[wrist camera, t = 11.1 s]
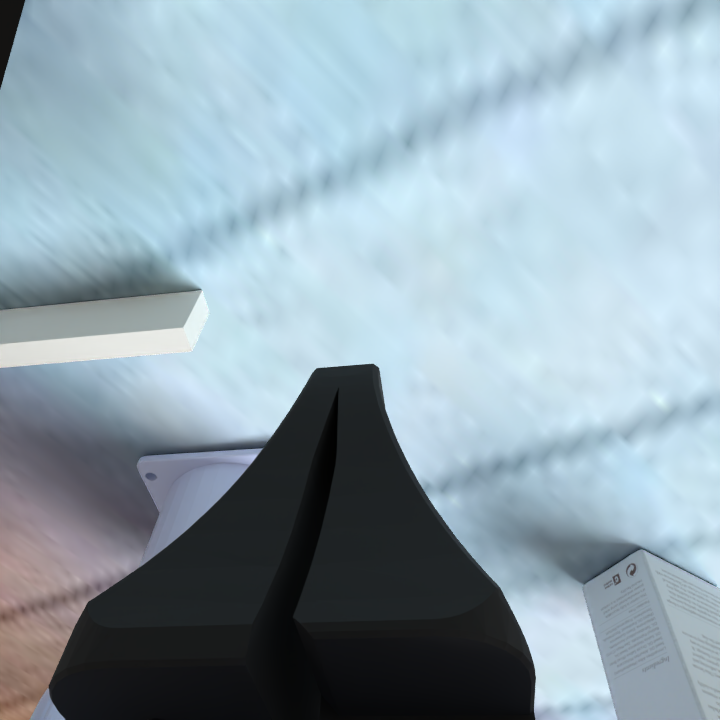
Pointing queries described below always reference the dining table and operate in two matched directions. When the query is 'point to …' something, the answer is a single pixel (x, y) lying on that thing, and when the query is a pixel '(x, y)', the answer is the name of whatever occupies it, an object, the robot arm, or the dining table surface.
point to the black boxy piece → (8, 29)
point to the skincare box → (657, 639)
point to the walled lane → (102, 329)
